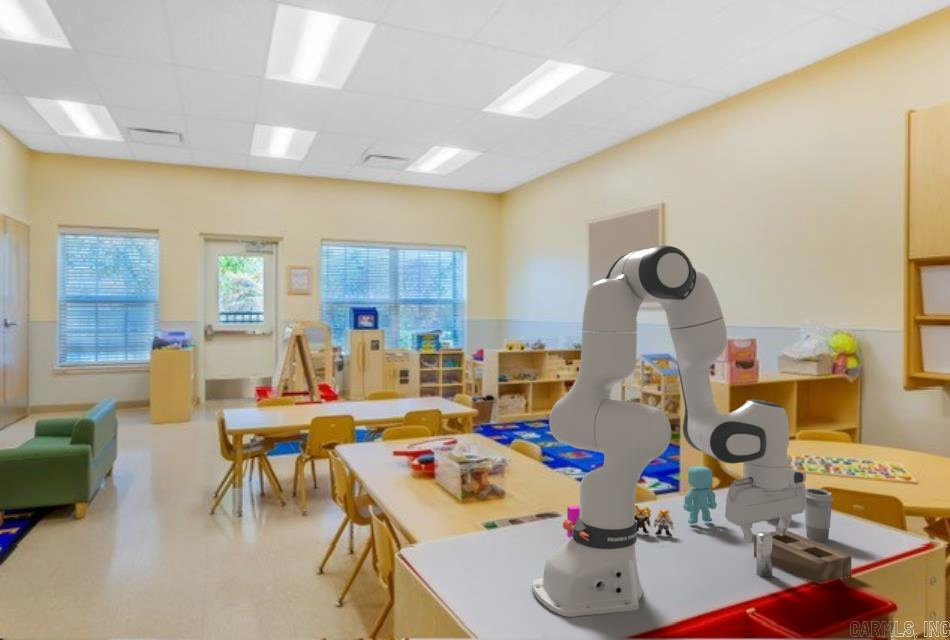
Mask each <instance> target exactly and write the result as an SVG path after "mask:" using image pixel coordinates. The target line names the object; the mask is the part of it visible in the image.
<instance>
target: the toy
mask: <svg viewBox="0 0 950 640" xmlns="http://www.w3.org/2000/svg"><path fill="white" fill-rule="evenodd" d="M687 482H688V484H689V486H690V487H693V488H689V489H688V491H687V492H686V494H685V495H684V504H683V505H682V508H683V510H685V511H686V512H689V518H688V519H687V523H688V524H691V525H695V524H697V523H698V522H699V514H700V511H701V519H702V521H703V522H705V523H709V522H713V518H712V517H711V511H710V510H715V509H716V508H717V506H718V504H717V502H716V493H715V492H714V490H713V489H711V488H710V487H712V485H713V471H712V469H711V468H709V467H706V466H704V465H702V466H701V465H699V466H691V467H689V468H688V470H687Z"/></svg>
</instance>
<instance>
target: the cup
mask: <svg viewBox="0 0 950 640" xmlns="http://www.w3.org/2000/svg"><path fill="white" fill-rule="evenodd" d="M805 488H806V507H805V509H804V523H805V529H806V530H805V531H806V538H807V539H810V540H812V541H815V542H817V543H826V542H829V535H830V528H831V519H832V518H831V517H832V502H834V500H835V499H834V497H833V496H832V492H831V491H828V490H825V489H820V488H816V487H815V488H812V487H810V488H809V487H808V488H807V487H805Z"/></svg>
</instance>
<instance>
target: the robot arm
mask: <svg viewBox="0 0 950 640" xmlns="http://www.w3.org/2000/svg"><path fill="white" fill-rule="evenodd" d="M718 299H719V298H718V297H717V294H716V292H715V290H714V287H713V284H712V283H711V281H710V279H709V278H708V277H707V275H706V274H704V273H703V272H700V271H696V269H695V268H694V266H693V264H692V262H691V260H690V258H689V257H688V256H687V254H685V253H684V251H683V250H681V249H680V248H678V247H676V246H671V245H657V246H654V247H650V248H641V249H637V250H635V251H632V252H630V253H627V254H625V255H624V254H623V255H622V256H620V257H619V258H617V259H615V261H613V263H612V265H611V267H610V268H609V270H608V271H607V275H606V276H605V278H603V279H599V280H597V281H596V282H594V283H592V284H591V285H590V286H589V288H588V290H587V292H586V297H585V301H584V307H583V313H582V314H583V315H582V327H581V329H582V332H581V349H580V351H581V352H580V363H579V367H578V368H579V369H578V373H577V376H576V378H575V380H574V383H573V385H572V386H571V387H570V389H569V390H568V392H567V393H566V394H565V395H564V396H562V397H561V398H559V399H558V400H557V401H556V402H555V403H554V405H553V406H552V408H551V411H550V413H549V418H548V424H549V429H550V432H551V434H552V436H553V437H554V439H555V440H556V441H558V442H560V443H562V444H565V445H568V446H569V447H572V448H573V449H574V448H575V449H581V450H585V451H586V450H587V451H591V452H597V453H602V454H604V455H603V456H604V460H603V465H602V466H601V467H598V468H595V469H594V470H591V471H589V472H587V473H586V474H585V475H584V476H583V477H582V479H581V481H580V484H579V506H580V516H579V517H578V519H577V521H576V524H575V525H574V523H573V522H571V521H570V520H568V519H567V518H566V519H564V521H563V522H562V524H561V525H562V528H563V529H564V530H566V532H567V531H569V532H572V531H573V532H572V537H571V538H568V539H567V540H566V541H565V542H564V543H563V544H562V545H561V546H560V547H559V548H558V549H557V550H555V551H554V552H553V553H552V554H550V556H548V558H547V559H546V561H545V564H544V569H543V570H544V571H543V574H542V575H543V576H542V577H539V578H537V579H533V582H532V585H531V587H532V593H533V595H534V596H535V597H536V598H537V600H538V601H539V602H540V603H541V604H542V605H544V606H545V607H546V608H547V609H549V610H550V611H552V612H554V613H556V614H558V615H560V616H563V617H567V618H568V617H569V618H570V617H571V618H573V617H583V616H591V615H601V614H610V613H611V614H613V613H619V612H621V613H623V612H630V611H637V610H639V608H640V604H639V601H640V600H641V598H642V597H643V593H644V591H643V590H644V589H643V587H642V584H641V581H640V575H639V571H638V565H637V556H636V554H637V553H636V542H637V540H638V532H637V524H636V522H637V521H636V520H635V514H636V513H635V505H636V496H637V495H636V494H637V487H638V482H639V479H640V476H641V475H642V473H643V471H644V469H645V468H646V467H647V466H648V465H649V464H650V463H652V462H653V461H654V460H656V459H657V458H659V457H660V456H662V455H663V454H664V453H665V452H666V450H667V449H668V447H669V445H670V443H671V440H672V427H671V426H672V425H671V423H670V421H669V420H670V419H669V418H668V416H667V415H666V413H665V412H664V411H663V410H662V409H660V408H657V407H654V406H651V405H649V404H645V403H641V402H638V401H629V400H628V401H626V400H617V399H611V393H612V389H613V387H614V386H615V385H616V384H618V383H620V382H622V381H625V380H626V379H628V378H629V377H630V376H631V375H632V374H633V373H634V371H635V369H636V367H637V342H638V341H637V339H638V337H637V336H638V335H637V334H638V333H637V331H638V325H637V323H638V322H637V319H638V318H637V317H638V313H639V309H640V307H641V305H642V304H643V302H647V303H649V302H655V301H657V302H658V303H659V304H660V306H661V307H662V308H663V310H664V312H665V315H666V319H667V324H668V325H667V326H668V329H669V333H670V337H671V340H672V343H673V348H674V351H675V356H676V361H677V362H676V363H677V368H678V369H677V370H678V375H679V381H680V387H681V392H682V397H683V404H684V419H683V424H682V433H683V436H684V439H685V441H686V442H687V444H689V446H690V447H692V448H693V449H695V450H697V451H699V452H702V453H705V454H707V455H708V456H711V457H712V458H713V459H715V460H718V461H719V462H723V463H726V464H730V465H731V464H739V463H740V464H741V463H743V464H742V474H743V476H742V479H735V480H733V482H732V483H731V484H730V485H729V486H728V492H727V494H726V499H725V500H726V502H725V512H724V515H725V518H726V520H727V521H728V522H730V523H731V524H733V525H736V526H738V527H740V529H741V531H742V533H743V541H744V542H745V543H747V544H754V542H756V540H755V538H756V535H757V534H755V533H753V532H752V530H751V529H752V528H753V524H756V523H760V522H761V523H762V522H766V521H769V520H774V519H779V521H778V524H777V525H775V531H776V534H778V535H780V536H784V535H787V531H788V529H789V525H790V523H791V521H792V517H793V516H794V515H798V514H802V513H803V512H805V507H806V488H807V487H806V485H805V483H806V480H807V474H806V472H804V471H801V470H799V469H796V468H793V467H792V468H791V467H790V460H789V458H788V457H789V456H788V448H789V445H790V430H789V429H790V427H789V419H788V415H787V411H786V409H785V408H784V407H783V406H782V405H780V404H777V403H774V402H771V401H767V400H762V399H757V398H755V399H748V400H746V402H745V403H744V404H742V405H741V406H740V407H739V408H737V409H735V410H733V411H731V412H728V413H725V414H724V413H722V412H721V411H720V410H719V409H718V408H717V405H716V404H715V401H714V396H713V391H712V385H711V380H710V367H711V365H712V364H713V362H714V361H716V360H717V359H718V358H719V357H721V356H722V354H723V353H724V352H725V349H726V348H727V345H728V334H727V326H726V323H725V319H724V318H725V317H724V315H723V312H722V308H721V305H720V301H719V300H718Z"/></svg>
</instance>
